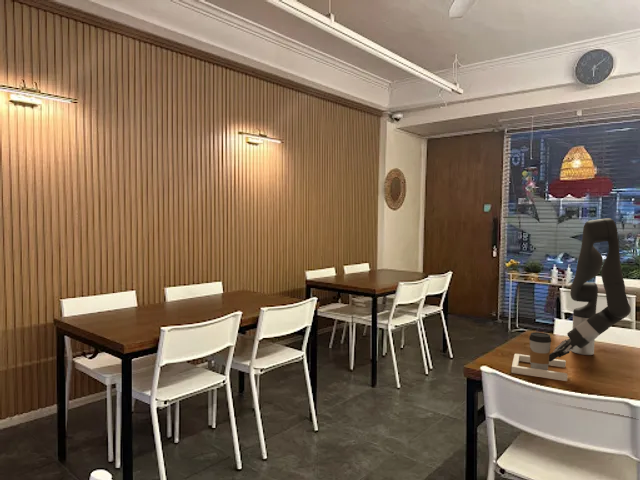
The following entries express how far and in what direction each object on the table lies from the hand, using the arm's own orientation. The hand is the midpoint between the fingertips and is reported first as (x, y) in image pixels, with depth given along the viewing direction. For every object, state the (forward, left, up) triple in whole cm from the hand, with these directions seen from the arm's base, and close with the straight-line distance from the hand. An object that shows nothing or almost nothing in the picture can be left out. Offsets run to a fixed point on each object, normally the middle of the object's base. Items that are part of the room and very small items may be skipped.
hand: (548, 359), depth 190 cm
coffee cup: (+1, -3, -5) cm, 6 cm away
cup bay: (0, -4, -5) cm, 6 cm away
